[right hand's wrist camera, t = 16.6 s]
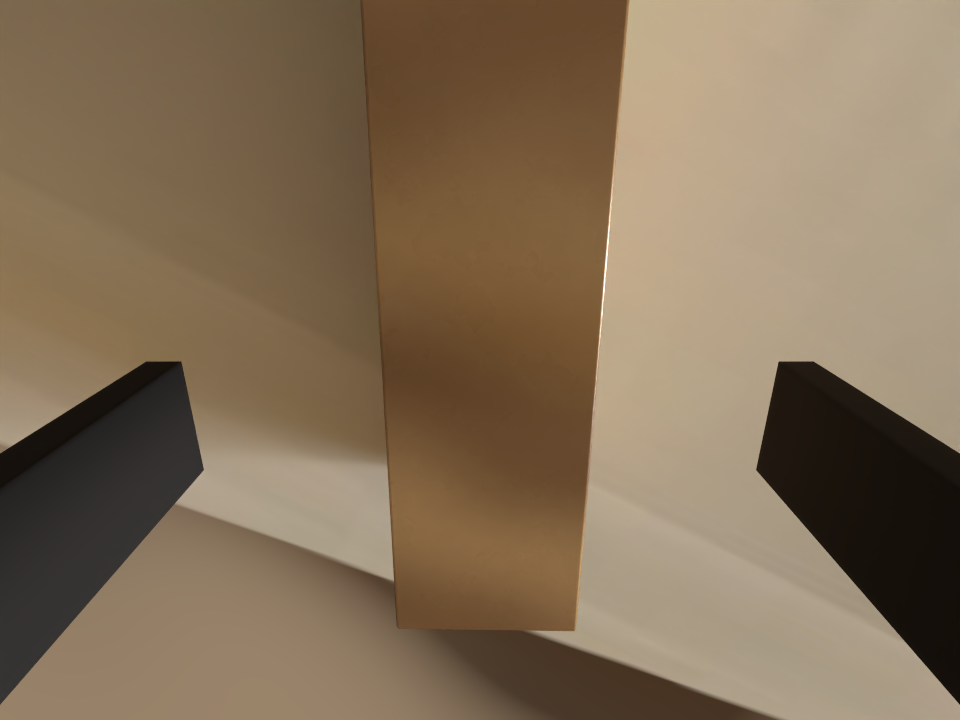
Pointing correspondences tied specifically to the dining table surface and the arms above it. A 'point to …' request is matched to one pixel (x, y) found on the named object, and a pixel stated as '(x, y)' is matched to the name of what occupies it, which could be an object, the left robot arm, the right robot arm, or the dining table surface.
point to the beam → (491, 293)
